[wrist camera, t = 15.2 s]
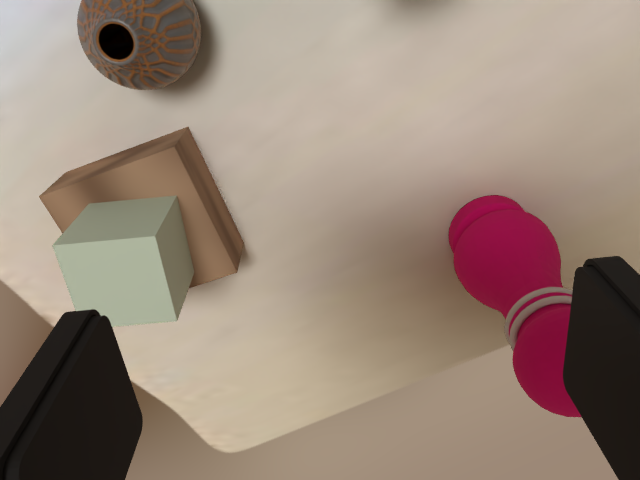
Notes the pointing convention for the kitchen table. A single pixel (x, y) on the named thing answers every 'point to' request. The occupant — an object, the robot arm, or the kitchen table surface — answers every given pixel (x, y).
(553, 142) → the kitchen table surface
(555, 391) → the pepper mill
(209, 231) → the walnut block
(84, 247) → the green cube
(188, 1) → the vase
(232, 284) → the kitchen table surface
